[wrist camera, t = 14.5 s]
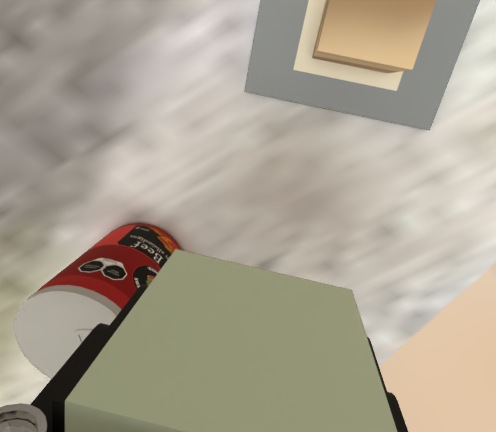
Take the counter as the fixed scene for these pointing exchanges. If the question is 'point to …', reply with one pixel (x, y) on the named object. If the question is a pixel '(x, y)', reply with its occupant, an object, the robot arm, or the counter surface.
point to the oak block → (373, 33)
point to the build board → (348, 77)
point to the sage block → (233, 358)
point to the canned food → (89, 293)
